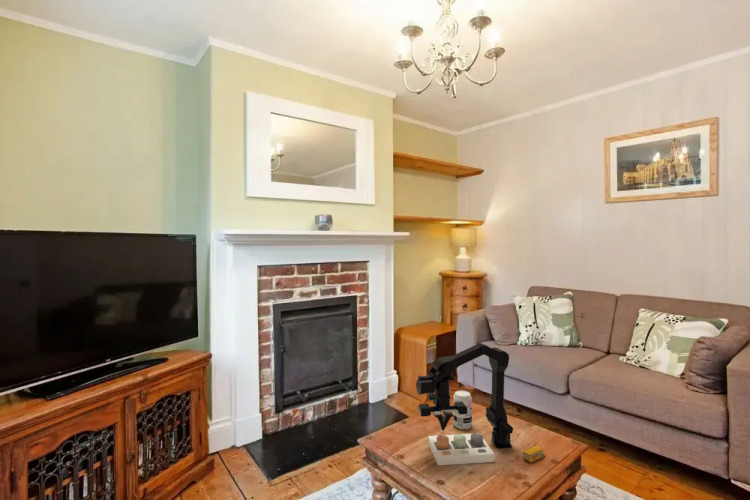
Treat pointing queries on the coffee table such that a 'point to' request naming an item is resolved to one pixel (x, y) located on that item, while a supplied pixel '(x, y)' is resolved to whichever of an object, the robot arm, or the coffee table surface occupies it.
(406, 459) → the coffee table surface
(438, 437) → the rust button
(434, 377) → the robot arm
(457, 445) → the sage button
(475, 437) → the charcoal button
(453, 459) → the panel
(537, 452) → the toy bus
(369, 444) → the coffee table surface
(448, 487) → the coffee table surface
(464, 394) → the supplement can
